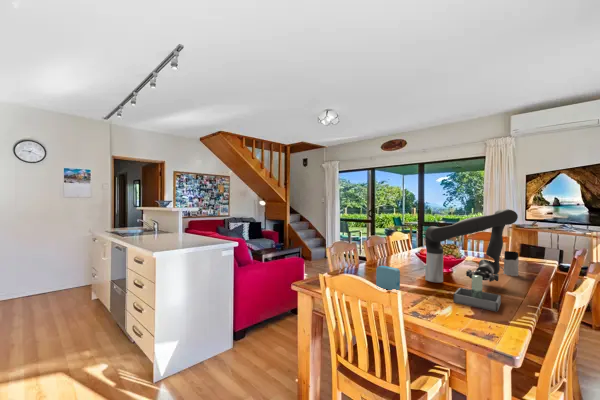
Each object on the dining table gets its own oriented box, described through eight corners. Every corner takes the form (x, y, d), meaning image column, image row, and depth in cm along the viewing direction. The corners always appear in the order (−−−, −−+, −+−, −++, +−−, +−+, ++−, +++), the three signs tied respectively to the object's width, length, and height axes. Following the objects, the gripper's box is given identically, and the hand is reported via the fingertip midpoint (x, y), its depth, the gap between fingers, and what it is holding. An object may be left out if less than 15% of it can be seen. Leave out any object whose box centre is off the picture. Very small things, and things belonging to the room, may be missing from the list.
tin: (470, 300, 136) (471, 276, 136) (472, 298, 139) (472, 274, 140) (481, 303, 133) (481, 277, 134) (482, 300, 137) (483, 276, 137)
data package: (399, 290, 153) (400, 268, 153) (396, 292, 150) (396, 270, 150) (380, 285, 162) (380, 264, 162) (375, 287, 158) (376, 266, 158)
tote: (453, 302, 137) (453, 294, 137) (459, 295, 147) (459, 287, 147) (497, 311, 125) (497, 302, 125) (500, 303, 136) (500, 295, 136)
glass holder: (519, 276, 184) (520, 253, 184) (493, 273, 191) (493, 251, 191) (518, 273, 191) (518, 251, 191) (493, 270, 199) (493, 249, 199)
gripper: (470, 263, 161) (464, 268, 148) (500, 267, 151) (497, 273, 139) (470, 276, 161) (464, 282, 148) (500, 281, 151) (497, 288, 139)
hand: (480, 278), depth 144 cm, fingers open, 8 cm apart
